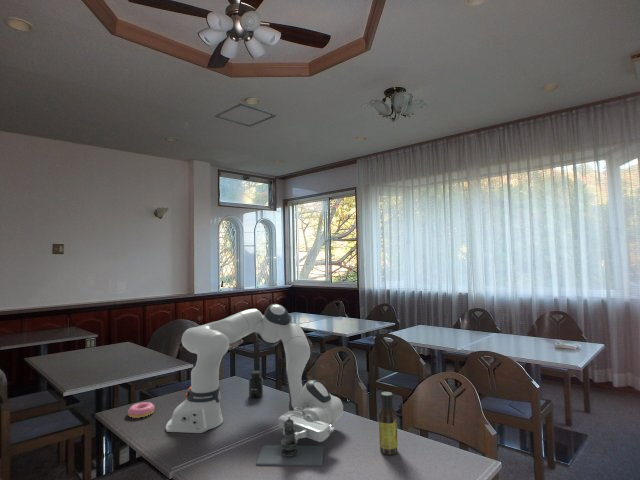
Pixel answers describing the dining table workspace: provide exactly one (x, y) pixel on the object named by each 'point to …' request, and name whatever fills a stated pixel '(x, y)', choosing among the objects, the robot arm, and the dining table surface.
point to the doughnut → (141, 410)
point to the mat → (301, 458)
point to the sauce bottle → (387, 425)
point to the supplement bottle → (255, 385)
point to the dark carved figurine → (289, 439)
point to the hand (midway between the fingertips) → (289, 435)
